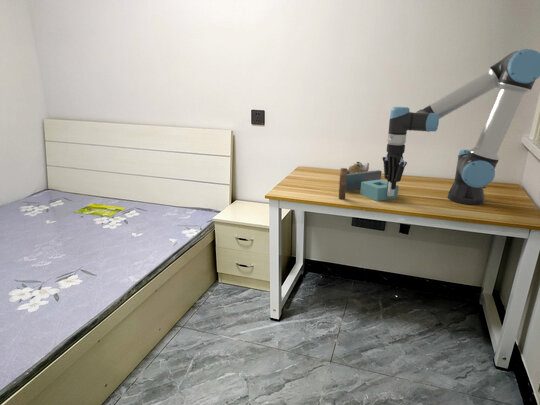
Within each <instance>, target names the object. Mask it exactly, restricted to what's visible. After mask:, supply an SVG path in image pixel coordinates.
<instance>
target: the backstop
mask: <svg viewBox="0 0 540 405" xmlns="http://www.w3.org/2000/svg"><path fill="white" fill-rule="evenodd" d="M380 179H382V170H380V169H378V170H368V172H359V173H351V174H347V180H346V192H348V191H355V190H356V191H357V190H361V182H365V181H372V180H380ZM338 182H339V184H340V181H338Z"/></svg>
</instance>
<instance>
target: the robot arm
mask: <svg viewBox="0 0 540 405" xmlns="http://www.w3.org/2000/svg"><path fill="white" fill-rule="evenodd" d="M539 78H540V52H539V51H537V50H535V49H529V48H523V49H520V50H515V51H512V52H511V53H509V54H508V55H506V56H504V57H503V58H502V59H500V60H498V61H497V62H495V63H494V64H493V65H491V66H489V67H488V69H487V71H486V72H484V73H483V74H480V75H479V76H477V77H476V78H474V79H472V80H470V81H469V82H467V83H465V84H464V85H462V86H460V87H458V88H457V89H455V90H453V91H451V92H450V93H448V94H447V95H445V96H443V97H441V98H440V99H437V100H436V101H434V102H433V103H431V104H429V105H428V106H426V107H424V108H422V109H419V110H418V111H416V112H412V111H410V108H409V107H407V106H406V107H405V106H394V107H392V108H391V109H390V114H389V123H388V133H387V145H386V153H387V154H386V156H383V157H381V158H382V162H383V173H384V176H383V177H384V179H385V180H386V181H387V182H388V184H387V188H388V191H387V196H394V191H395V189H396V185H397V183H399V182H401V180H402V176H403V174H404V170H405V167H406V166H407V165H408V162H407V161H405V160H404V156H403V154H404V153H405V150H406V145H405V144H407V143H406V142H407V132H408V131H409V132H411V131H415V132H428V133H430V132H437V130H438V127H439V121H440V119H442V118H443V117H446V116H447V115H449V114H451V113H452V112H454V111H457V110H458V109H460V108H462V107H463V106H466V105H467V104H469V103H470V102H472V101H475V100H476V99H478V98H479V97H482V96H483V95H485V94H487V93H489V92H490V91H492V90H494V89H499V90H498V93H497V95H496V98H495V100H494V102H493V104H492V106H491V109H490V110H489V114H488V115H487V118H486V121H485V123H484V126H483V128H482V129H481V132H480V134H479V137H478V139H477V141H476V143H475V146H474V147H472V148H470V149H460V150H459V152H458V155H457V163H456V170H455V175H454V181H453V184H452V185H451V187H450V189H449V191H448V193H447V199H448V200H450V201H452V202H456V203H458V204H464V205H482V204H484V203H485V199H486V198H485V192H484V191H485V190H484V187H487V186H488V185H490V184H491V183H492V182H493V181H494V178H495V176H496V170H495V169H496V167H497V165H498V163H499V160H500V157H499V155H498V152H499V150H500V148H501V146H502V143H503V142H504V140H505V138H506V135H507V133H508V130H509V128H510V126H511V124H512V122H513V119H514V118H515V115H516V113H517V111H518V109H519V107H520V105H521V102H522V100H523V97H524V96H525V94H528V93H529V92H531V91H532V89H533V86H534V85H535V83H536V80H538V79H539Z"/></svg>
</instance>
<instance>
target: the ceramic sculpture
mask: <svg viewBox="0 0 540 405" xmlns="http://www.w3.org/2000/svg"><path fill="white" fill-rule="evenodd" d="M369 169H370V163H369V162H367V163H363V164H362V162H360V161H356V163H352V164H350V165H349V167H348V168H347V174H351V173H359V172H368V171H369Z"/></svg>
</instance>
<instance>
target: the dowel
mask: <svg viewBox="0 0 540 405" xmlns="http://www.w3.org/2000/svg"><path fill="white" fill-rule="evenodd" d="M347 169H348V168H346V167H340V170H339V171H340V172H339V182H340V184H339V185H338V186H339V187H338V199H339V200H346V193H347V191H346V180H347Z"/></svg>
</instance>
